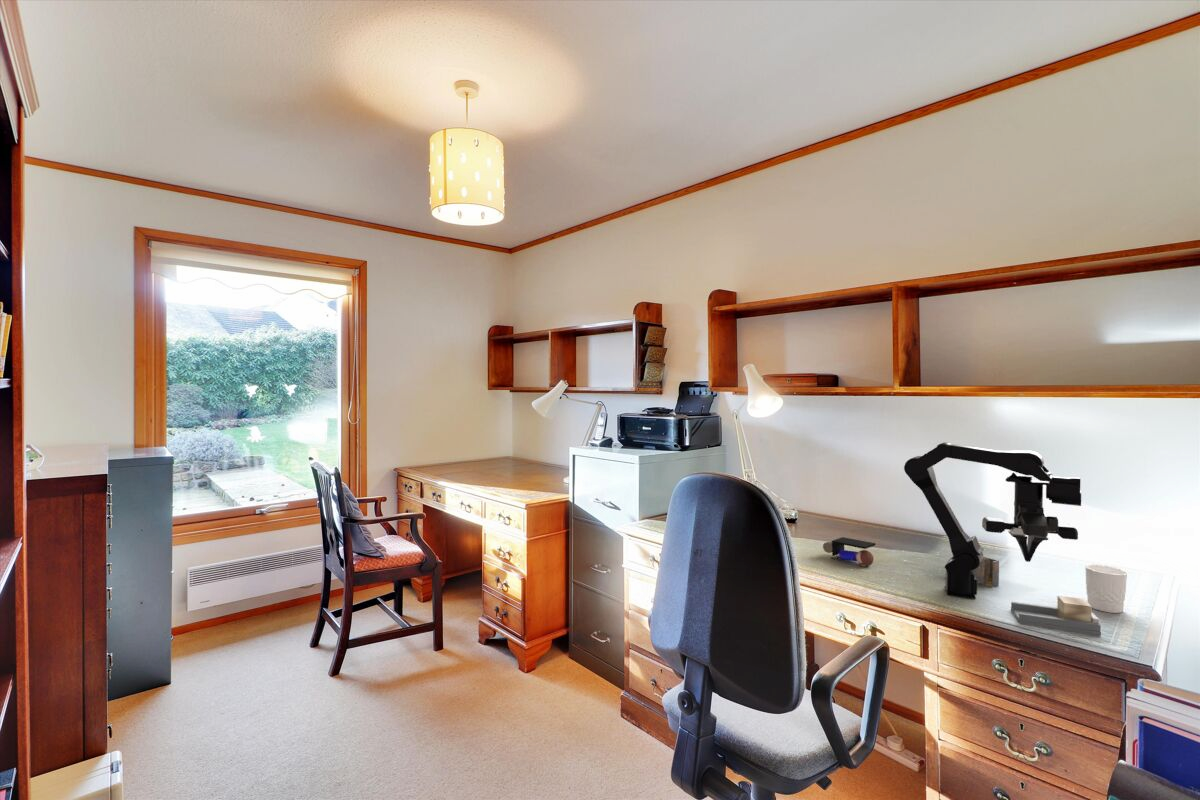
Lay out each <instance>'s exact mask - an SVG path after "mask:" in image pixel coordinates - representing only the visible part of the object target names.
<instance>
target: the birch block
mask: <svg viewBox="0 0 1200 800" xmlns="http://www.w3.org/2000/svg"><path fill="white" fill-rule="evenodd" d="M1056 603H1057V605H1056V607H1057V616H1058V617H1059V618H1062V619H1070V620H1077V621H1084V622H1091V613H1093V612H1092V611H1093V610H1092V609H1093V608H1092V606H1091V605H1090V604H1089V603H1088V602H1087V600H1086V599H1085V598H1079V597H1073V596H1062V595H1057V602H1056Z"/></svg>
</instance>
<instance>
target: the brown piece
mask: <svg viewBox="0 0 1200 800" xmlns="http://www.w3.org/2000/svg"><path fill="white" fill-rule="evenodd" d="M971 571H973V573H974V574H975V578H976V580H977V584H981V585H984V586H988V587H991V588H996V587H999V585H1000V560H999V559H998V560H997V559H995V558H990V557H986V556H983V559H982V561H981V563H980V565H979V566H978V567H977V568H976V569H974V570H971Z"/></svg>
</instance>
